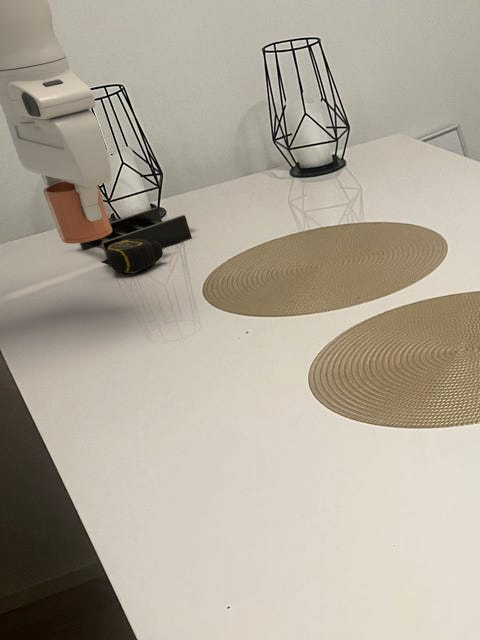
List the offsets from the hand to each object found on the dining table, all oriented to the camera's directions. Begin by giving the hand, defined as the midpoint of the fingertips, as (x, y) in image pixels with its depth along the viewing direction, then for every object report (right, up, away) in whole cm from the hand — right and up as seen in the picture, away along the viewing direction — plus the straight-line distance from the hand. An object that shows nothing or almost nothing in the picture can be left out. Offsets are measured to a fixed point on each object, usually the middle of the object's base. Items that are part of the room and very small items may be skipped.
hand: (80, 215), depth 121 cm
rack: (-3, +8, +30) cm, 31 cm away
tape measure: (0, +1, +21) cm, 21 cm away
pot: (0, -2, +2) cm, 3 cm away
